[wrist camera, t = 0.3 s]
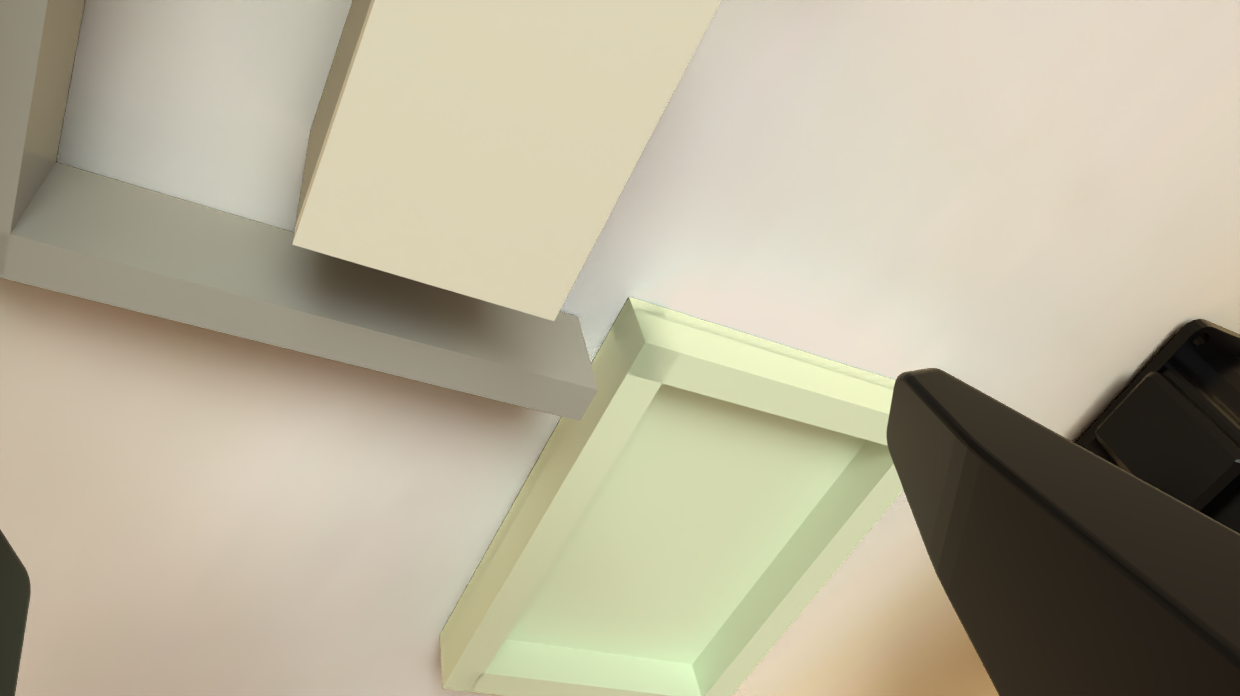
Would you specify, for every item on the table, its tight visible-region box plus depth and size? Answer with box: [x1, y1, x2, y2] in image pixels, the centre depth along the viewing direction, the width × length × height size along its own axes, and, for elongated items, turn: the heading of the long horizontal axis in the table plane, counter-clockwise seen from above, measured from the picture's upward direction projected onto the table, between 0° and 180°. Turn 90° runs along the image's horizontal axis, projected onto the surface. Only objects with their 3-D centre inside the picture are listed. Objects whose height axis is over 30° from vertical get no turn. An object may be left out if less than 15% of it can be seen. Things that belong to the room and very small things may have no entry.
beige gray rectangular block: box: [292, 0, 722, 321], centre depth 17 cm, size 5×9×5 cm, turn 154°
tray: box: [440, 297, 903, 696], centre depth 29 cm, size 10×14×2 cm
